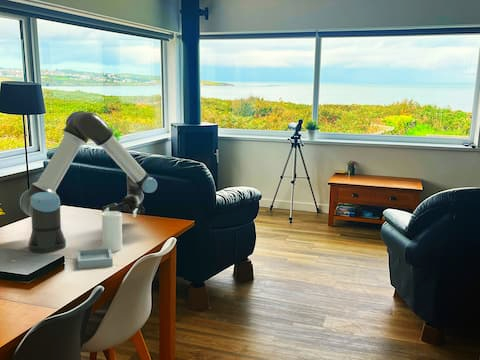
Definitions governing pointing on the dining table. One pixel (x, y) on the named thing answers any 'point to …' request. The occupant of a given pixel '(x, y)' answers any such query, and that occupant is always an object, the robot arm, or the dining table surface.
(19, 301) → the dining table surface
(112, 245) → the cup
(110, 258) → the dock tray
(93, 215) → the dining table surface
